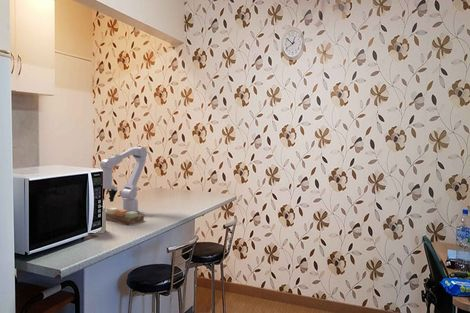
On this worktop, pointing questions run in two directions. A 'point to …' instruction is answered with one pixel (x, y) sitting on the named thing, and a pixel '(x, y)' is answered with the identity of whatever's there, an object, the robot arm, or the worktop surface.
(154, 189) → the worktop surface
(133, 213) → the block
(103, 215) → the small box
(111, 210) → the ivory cube
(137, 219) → the slotted board
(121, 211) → the salmon pink cube
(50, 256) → the worktop surface
